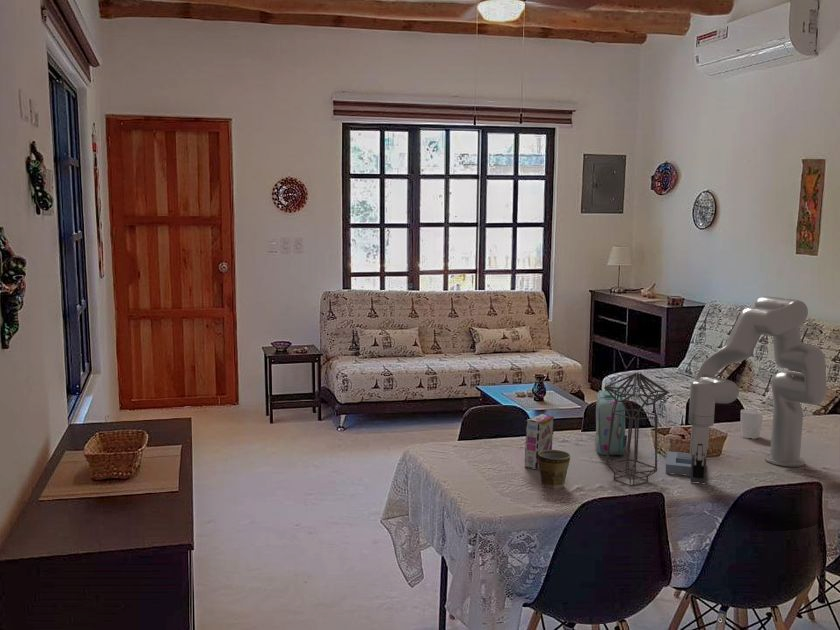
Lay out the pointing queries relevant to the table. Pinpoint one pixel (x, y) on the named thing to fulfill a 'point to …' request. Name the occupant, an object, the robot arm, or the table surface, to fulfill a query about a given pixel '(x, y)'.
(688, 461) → the outlet plate
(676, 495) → the table surface
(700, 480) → the block
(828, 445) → the table surface
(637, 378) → the geometric lantern
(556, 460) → the ceramic cup
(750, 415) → the white cup
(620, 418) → the lunch box
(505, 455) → the table surface
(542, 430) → the candy bar box
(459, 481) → the table surface
